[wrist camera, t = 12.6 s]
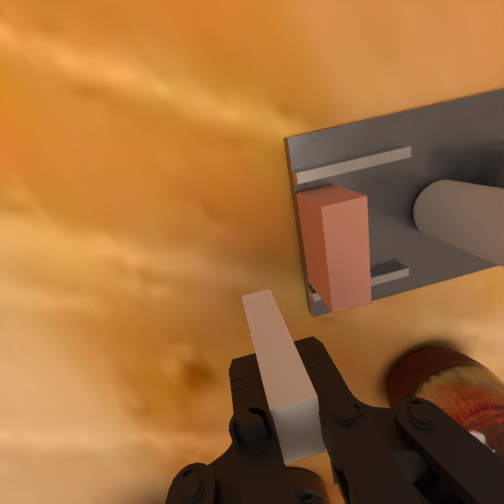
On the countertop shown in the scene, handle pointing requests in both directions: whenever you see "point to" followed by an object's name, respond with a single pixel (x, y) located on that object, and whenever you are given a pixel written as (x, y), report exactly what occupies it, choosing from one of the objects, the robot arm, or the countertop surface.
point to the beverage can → (464, 217)
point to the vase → (454, 391)
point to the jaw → (336, 245)
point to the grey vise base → (403, 183)
